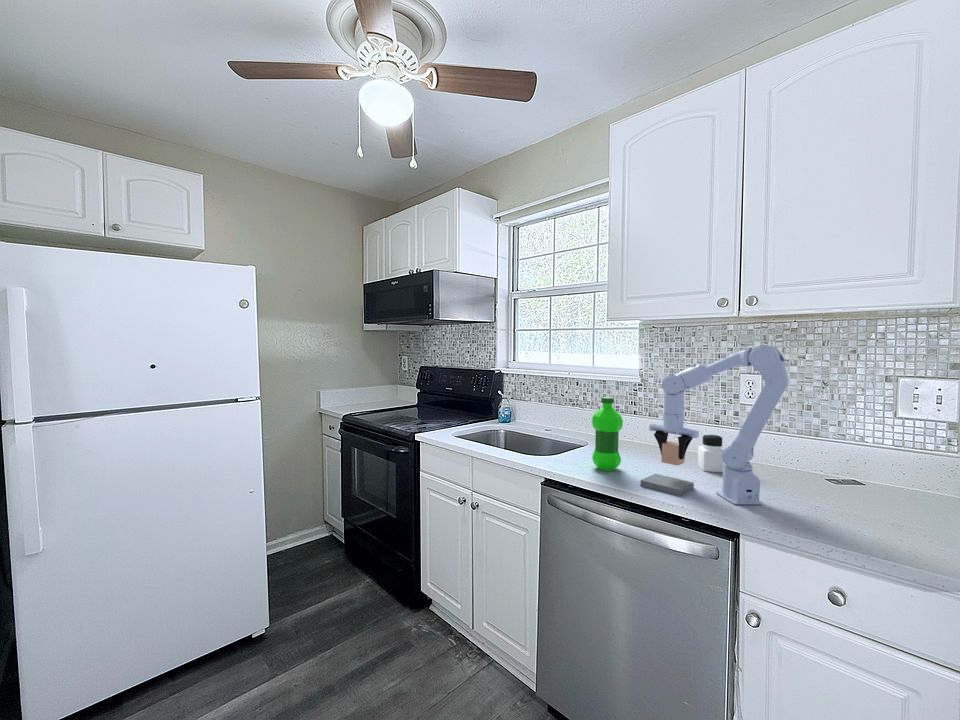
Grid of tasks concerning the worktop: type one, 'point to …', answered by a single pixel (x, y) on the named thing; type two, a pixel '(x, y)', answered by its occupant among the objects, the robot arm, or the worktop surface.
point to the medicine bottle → (711, 454)
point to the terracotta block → (671, 453)
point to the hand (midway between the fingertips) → (672, 456)
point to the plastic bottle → (606, 436)
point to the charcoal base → (667, 484)
